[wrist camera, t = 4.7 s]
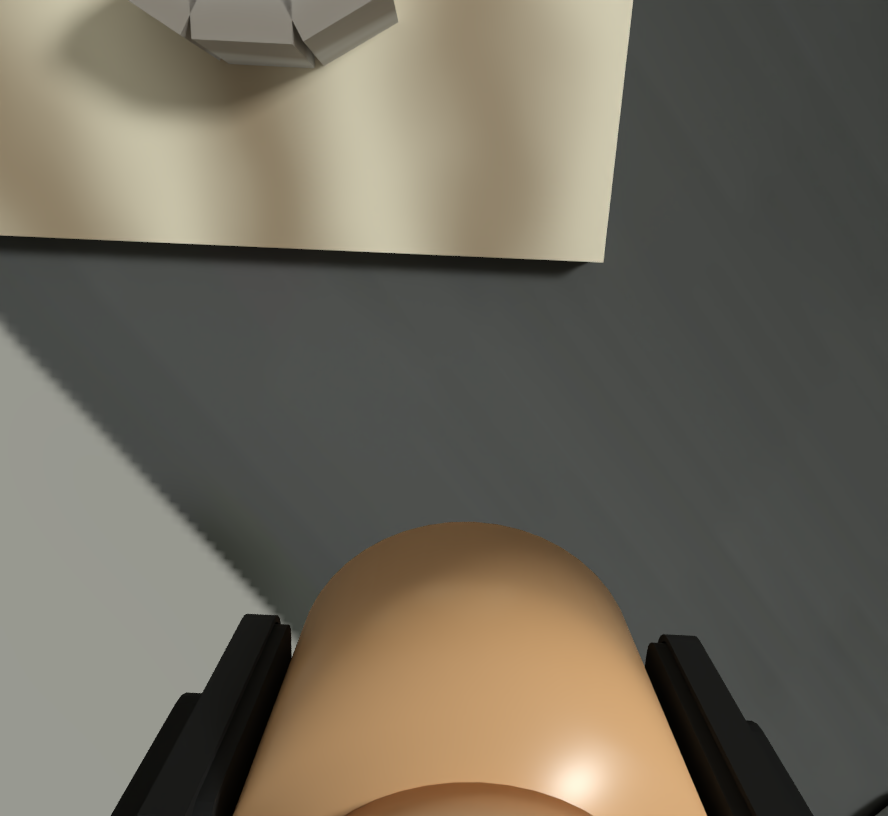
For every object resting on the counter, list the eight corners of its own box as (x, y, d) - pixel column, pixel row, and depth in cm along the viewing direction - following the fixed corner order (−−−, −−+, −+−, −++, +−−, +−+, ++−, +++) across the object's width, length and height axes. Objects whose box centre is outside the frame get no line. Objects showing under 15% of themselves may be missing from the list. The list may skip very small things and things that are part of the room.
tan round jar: (654, 530, 11) (809, 773, 6) (613, 815, 13) (710, 1183, 8) (293, 513, 11) (168, 742, 6) (299, 800, 13) (204, 1156, 8)
